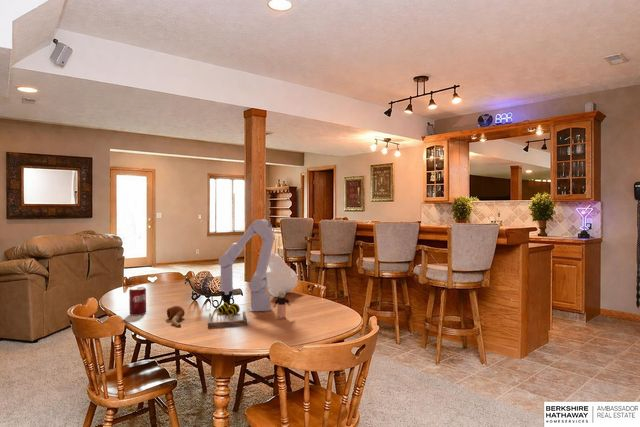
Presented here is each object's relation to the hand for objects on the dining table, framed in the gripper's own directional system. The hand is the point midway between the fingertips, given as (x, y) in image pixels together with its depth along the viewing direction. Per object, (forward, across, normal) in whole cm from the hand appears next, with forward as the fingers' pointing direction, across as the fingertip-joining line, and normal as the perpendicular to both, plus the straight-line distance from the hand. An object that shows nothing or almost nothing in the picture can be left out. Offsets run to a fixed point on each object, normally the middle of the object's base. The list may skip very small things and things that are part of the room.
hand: (226, 306), depth 209 cm
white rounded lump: (+1, -27, +29) cm, 40 cm away
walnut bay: (+1, +25, 0) cm, 25 cm away
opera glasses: (+1, +11, +1) cm, 11 cm away
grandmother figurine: (+1, +26, +24) cm, 35 cm away
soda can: (+1, +1, -41) cm, 41 cm away
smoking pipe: (+1, +20, -21) cm, 29 cm away
